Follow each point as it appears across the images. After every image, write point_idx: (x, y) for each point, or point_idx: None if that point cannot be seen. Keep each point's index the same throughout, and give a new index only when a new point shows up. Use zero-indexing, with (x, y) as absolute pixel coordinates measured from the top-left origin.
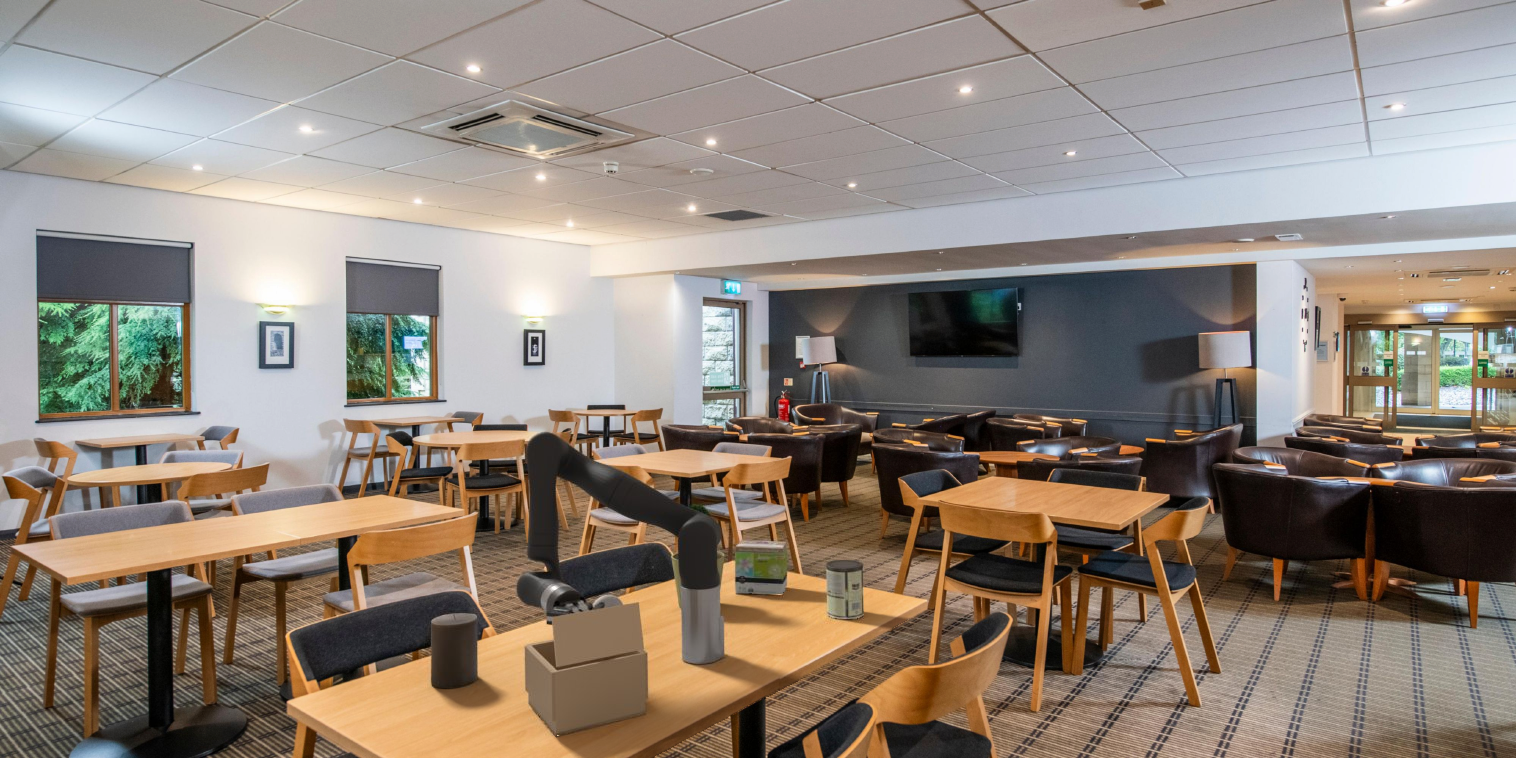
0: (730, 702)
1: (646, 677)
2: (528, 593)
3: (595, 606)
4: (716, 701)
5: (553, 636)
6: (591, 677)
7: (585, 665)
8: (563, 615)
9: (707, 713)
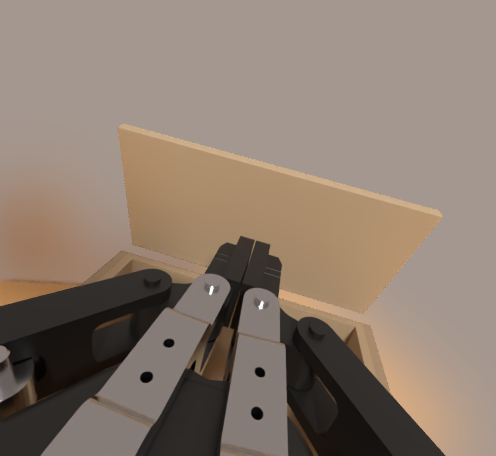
0: (4, 280)
1: None
2: None
3: (74, 318)
4: (4, 298)
5: (404, 263)
6: None
7: (282, 300)
8: (398, 200)
9: (71, 286)
